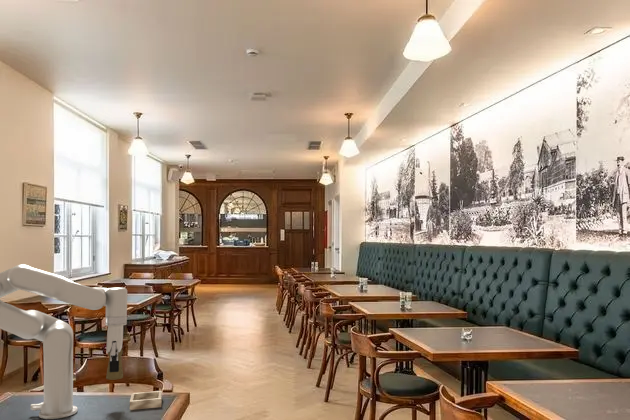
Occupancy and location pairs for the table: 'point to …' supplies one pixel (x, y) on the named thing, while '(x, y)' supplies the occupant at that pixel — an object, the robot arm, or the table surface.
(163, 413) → the table surface
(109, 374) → the cork
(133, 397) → the beige square frame
